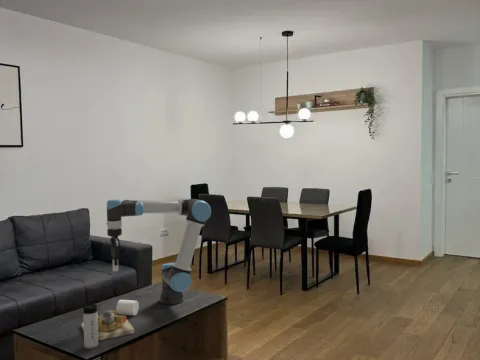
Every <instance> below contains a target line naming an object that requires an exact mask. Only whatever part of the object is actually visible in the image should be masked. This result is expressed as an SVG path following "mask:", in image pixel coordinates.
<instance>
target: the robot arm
mask: <svg viewBox="0 0 480 360" xmlns="http://www.w3.org/2000/svg"><path fill="white" fill-rule="evenodd" d="M144 214H166V215H167V214H170V215H171V214H175V215H176V214H177V216H184V217H186V218H185V221H186V223H187V224H186V227H185V230H184V234H183V237H182V240H181V244H180V247H179V251H178V255H177V257H176V261H175V262H169V263H163V264H161V268H160V274H161V275H160V276H161V289H160V293H159V296H158V302H159V303H160V304H163V305H177V304H181V303H183V302H184V300H185V296H184V292H185V291H186V290H187V289H189V287H190V286H191V284H192V279H191V272H192V268H191V264H192V260H193V256H194V254H195V251H196V250H195V249H196V247H197V244H198V240H199V237H200V234H201V233H200V232H201V230H202V227H204V226H206V222H207V221H208V220H209V218H210V217H211V215H212V209H211V206H210V204H209V203H208V202H206V201H204V200H201V199H196V198H187V199H178V200H177V201H176V200H135V199H134V200H133V199H131V200H130V199H124V200H121V199H109V200H107V201H106V223H105V224H106V226H107V227H106V228H107V230H106V231H107V237H110V238H109V243H110V253H111V254H110V255H111V260H112V272H119V259H120V246H121V242H120V239H119V237H120V236H122V234H123V233H122V232H123V231H122V227H123V226H122V224H123V223H122V217H123V218H124V217H138V216H143V215H144Z"/></svg>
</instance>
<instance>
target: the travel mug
mask: <svg viewBox="0 0 480 360" xmlns="http://www.w3.org/2000/svg"><path fill="white" fill-rule="evenodd" d="M82 309H83V310H82V314H83V315H82V316H83V317H82V318H83V322H82V323H84V331H83V343H84V344H83V346H84V349H86V350H93V349H95V348H97V347H98V346H99V340H98V318H97V314H98V305H97V304H96V303H95V304H94V303H84V304H82Z"/></svg>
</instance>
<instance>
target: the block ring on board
mask: <svg viewBox="0 0 480 360" xmlns="http://www.w3.org/2000/svg"><path fill="white" fill-rule="evenodd" d="M111 311H112V310H110V309H109V310H108V309H106V310H103V311H102V314H99V316H100V319H104V324H110V323H114V314H113V313H112V312H111ZM120 315H121V314H120ZM121 316H125V315H121ZM80 325H81V328H82V331H83V332H84V322H81V324H80ZM132 334H135V328H134V327H133V325H132V324H131V322H130V321H129V320H128V319H127V318H126V322H123V325H122V326H121V327H120V328H118V329H115V330H111V331H98V341H102V340H107V339H108V340H109V339H112V338H117V337H122V336H126V335H132Z"/></svg>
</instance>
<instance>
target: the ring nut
mask: <svg viewBox="0 0 480 360" xmlns="http://www.w3.org/2000/svg"><path fill="white" fill-rule="evenodd" d="M111 312H112V313H113V314H114V323H110V324H104V319H100V314H98V313H97V318H98V331H111V330H115V329H118V328H120V327H121V326H122V325H123V322H126V319H127V315H124V316H121V314H117V311H116V309H112V310H111Z"/></svg>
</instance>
